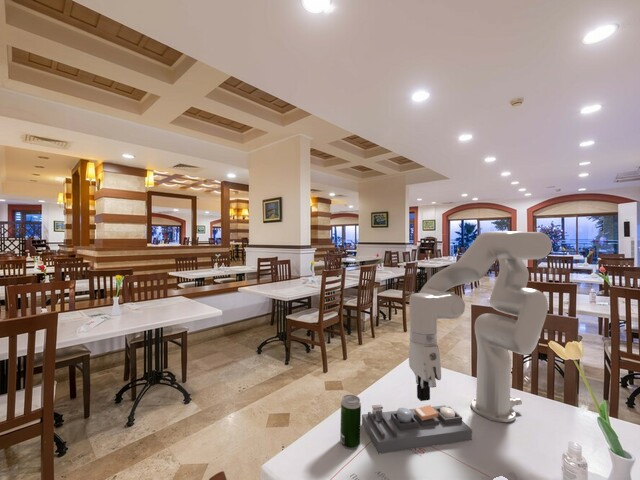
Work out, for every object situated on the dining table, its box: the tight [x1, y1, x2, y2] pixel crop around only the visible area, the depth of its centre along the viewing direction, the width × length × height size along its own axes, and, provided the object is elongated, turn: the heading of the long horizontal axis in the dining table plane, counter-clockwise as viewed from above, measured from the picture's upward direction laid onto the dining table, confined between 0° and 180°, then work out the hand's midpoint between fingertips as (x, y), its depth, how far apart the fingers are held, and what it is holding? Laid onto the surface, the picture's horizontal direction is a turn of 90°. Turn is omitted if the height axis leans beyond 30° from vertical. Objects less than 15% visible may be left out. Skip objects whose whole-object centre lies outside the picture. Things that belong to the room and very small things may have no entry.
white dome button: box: [440, 406, 456, 418], centre depth 86 cm, size 4×4×2 cm
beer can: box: [339, 394, 362, 451], centre depth 79 cm, size 5×5×12 cm
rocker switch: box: [413, 404, 438, 421], centre depth 85 cm, size 5×4×1 cm
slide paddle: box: [371, 404, 384, 421], centre depth 85 cm, size 3×2×4 cm
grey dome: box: [396, 407, 412, 423], centre depth 83 cm, size 4×4×2 cm
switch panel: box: [361, 405, 473, 455], centre depth 84 cm, size 28×12×4 cm, turn 102°
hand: (423, 398), depth 85 cm, fingers closed
